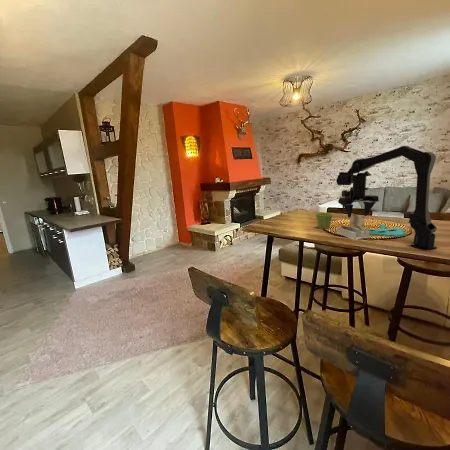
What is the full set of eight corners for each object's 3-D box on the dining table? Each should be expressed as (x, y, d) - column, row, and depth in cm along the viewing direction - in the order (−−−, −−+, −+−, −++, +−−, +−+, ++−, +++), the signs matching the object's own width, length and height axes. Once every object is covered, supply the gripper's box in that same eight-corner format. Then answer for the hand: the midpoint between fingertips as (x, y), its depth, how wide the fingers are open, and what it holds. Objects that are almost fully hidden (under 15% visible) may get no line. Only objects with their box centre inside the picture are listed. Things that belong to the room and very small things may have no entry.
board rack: (370, 239, 125) (371, 231, 124) (353, 241, 123) (353, 233, 122) (351, 232, 138) (351, 225, 137) (335, 234, 136) (335, 227, 135)
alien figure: (352, 232, 140) (384, 241, 121) (353, 228, 139) (384, 237, 120) (382, 227, 145) (416, 236, 126) (382, 224, 144) (417, 232, 125)
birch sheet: (363, 236, 126) (364, 216, 124) (361, 236, 126) (362, 216, 124) (351, 231, 135) (352, 213, 133) (349, 232, 135) (350, 213, 133)
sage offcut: (359, 237, 126) (360, 229, 125) (357, 237, 125) (357, 229, 124) (351, 234, 131) (351, 226, 130) (349, 234, 131) (349, 226, 130)
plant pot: (314, 226, 154) (314, 212, 152) (330, 226, 152) (331, 212, 150) (316, 230, 146) (316, 215, 144) (333, 230, 144) (334, 215, 142)
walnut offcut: (350, 235, 129) (351, 227, 128) (348, 235, 129) (348, 228, 128) (343, 232, 135) (343, 225, 134) (340, 232, 134) (341, 225, 134)
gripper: (364, 183, 134) (362, 212, 138) (332, 186, 131) (331, 215, 135) (380, 184, 124) (378, 215, 127) (346, 187, 120) (344, 219, 124)
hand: (357, 216), depth 129 cm, fingers open, 9 cm apart
